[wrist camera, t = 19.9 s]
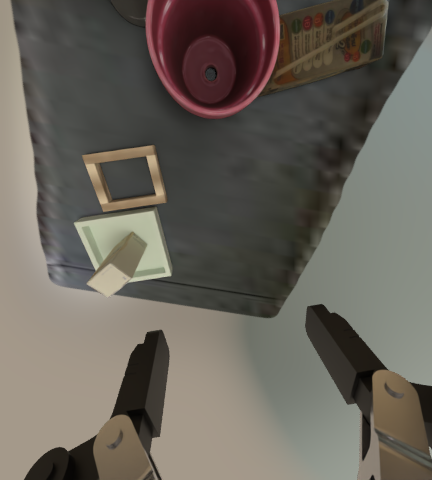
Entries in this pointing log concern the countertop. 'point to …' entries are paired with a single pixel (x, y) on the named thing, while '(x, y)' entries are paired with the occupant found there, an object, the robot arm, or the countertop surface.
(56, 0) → the countertop surface
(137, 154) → the wooden frame
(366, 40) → the printed cardboard box
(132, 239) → the skincare box
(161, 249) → the sage tray
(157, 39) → the plant pot
